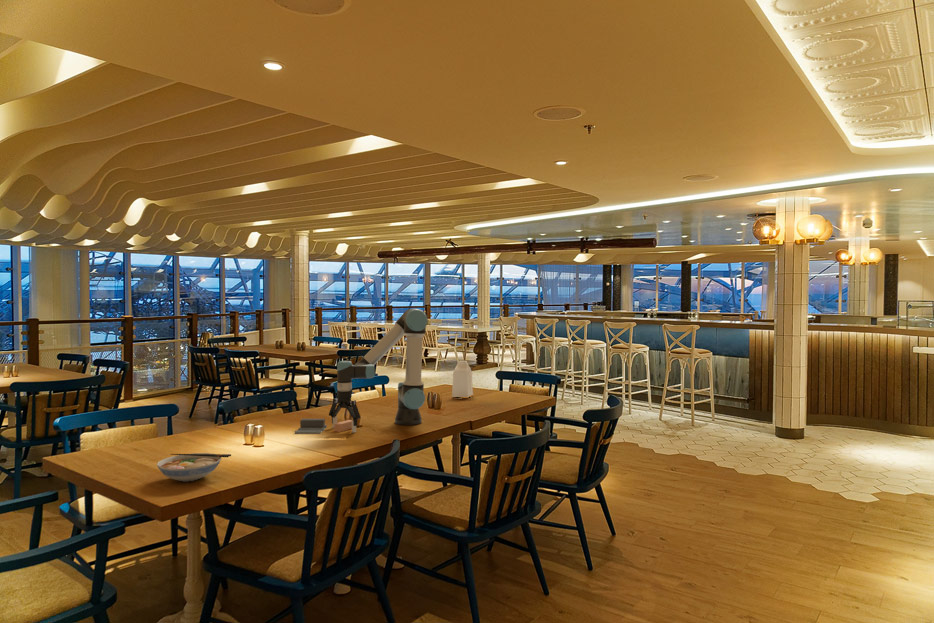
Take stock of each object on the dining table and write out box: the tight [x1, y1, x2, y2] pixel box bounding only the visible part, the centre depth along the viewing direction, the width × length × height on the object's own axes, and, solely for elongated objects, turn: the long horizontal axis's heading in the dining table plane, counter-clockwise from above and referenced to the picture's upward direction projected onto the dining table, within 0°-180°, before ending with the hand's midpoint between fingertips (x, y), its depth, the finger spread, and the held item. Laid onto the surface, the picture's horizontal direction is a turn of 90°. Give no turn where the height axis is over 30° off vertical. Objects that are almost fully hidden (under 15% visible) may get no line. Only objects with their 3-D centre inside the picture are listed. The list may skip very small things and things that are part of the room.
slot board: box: [294, 424, 328, 435], centre depth 311 cm, size 13×16×2 cm
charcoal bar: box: [299, 418, 326, 429], centre depth 315 cm, size 12×4×5 cm, turn 91°
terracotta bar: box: [333, 419, 353, 433], centre depth 314 cm, size 12×4×5 cm, turn 151°
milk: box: [451, 360, 474, 398], centre depth 425 cm, size 12×12×26 cm
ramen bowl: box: [156, 452, 232, 483], centre depth 229 cm, size 25×23×8 cm
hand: (344, 430), depth 314 cm, fingers open, 12 cm apart
